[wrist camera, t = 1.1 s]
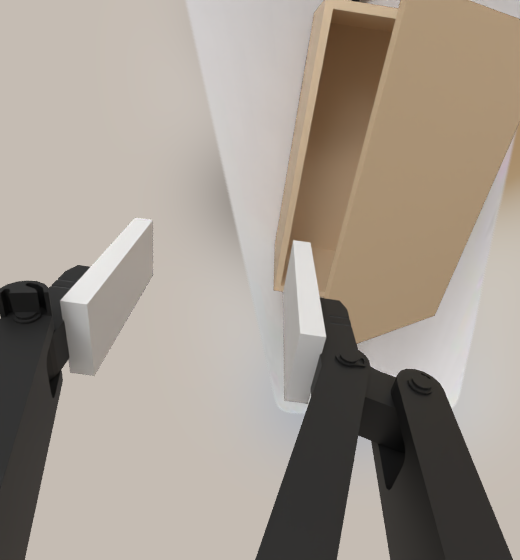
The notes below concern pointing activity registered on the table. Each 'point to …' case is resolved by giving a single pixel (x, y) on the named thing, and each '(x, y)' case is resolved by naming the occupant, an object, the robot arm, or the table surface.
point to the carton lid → (426, 160)
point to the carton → (330, 128)
